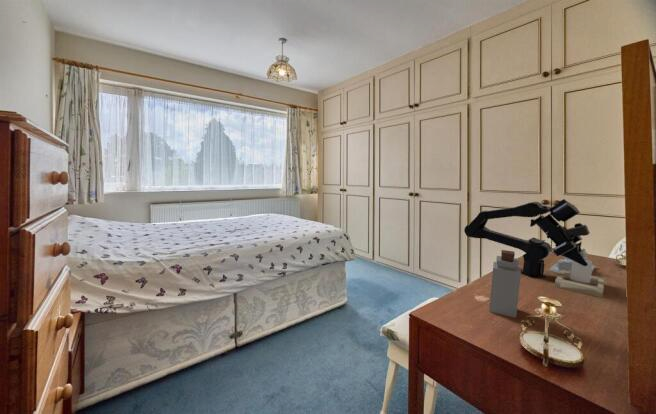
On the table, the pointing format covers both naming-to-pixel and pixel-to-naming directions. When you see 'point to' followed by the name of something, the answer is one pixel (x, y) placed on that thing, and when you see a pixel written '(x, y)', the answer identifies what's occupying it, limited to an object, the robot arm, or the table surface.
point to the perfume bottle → (505, 285)
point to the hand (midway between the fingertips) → (587, 264)
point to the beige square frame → (580, 284)
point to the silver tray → (564, 265)
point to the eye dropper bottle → (581, 269)
